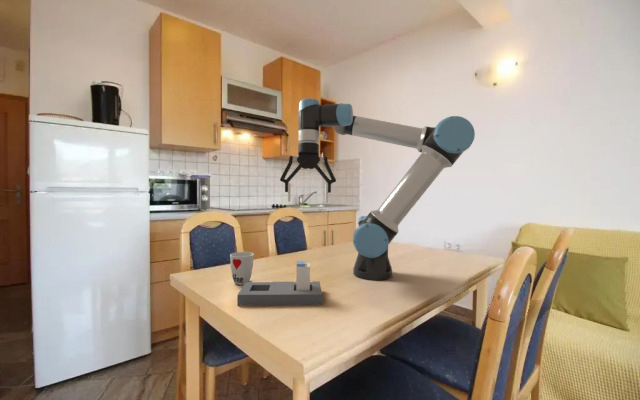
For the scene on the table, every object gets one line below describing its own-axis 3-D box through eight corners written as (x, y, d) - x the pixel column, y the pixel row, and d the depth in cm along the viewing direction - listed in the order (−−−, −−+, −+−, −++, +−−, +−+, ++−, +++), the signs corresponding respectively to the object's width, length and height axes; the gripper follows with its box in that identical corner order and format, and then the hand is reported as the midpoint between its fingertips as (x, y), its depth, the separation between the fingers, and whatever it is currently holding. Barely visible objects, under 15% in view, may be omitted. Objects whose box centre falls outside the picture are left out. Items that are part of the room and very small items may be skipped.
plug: (309, 294, 92) (309, 260, 92) (309, 299, 88) (310, 264, 88) (296, 295, 92) (296, 260, 91) (296, 299, 88) (296, 263, 87)
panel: (319, 290, 96) (319, 280, 96) (322, 304, 84) (322, 293, 84) (245, 290, 95) (245, 281, 95) (237, 305, 83) (237, 294, 83)
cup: (225, 282, 103) (225, 254, 103) (245, 277, 109) (245, 251, 109) (237, 287, 98) (238, 257, 98) (258, 282, 104) (258, 254, 103)
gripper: (341, 145, 111) (340, 201, 112) (275, 144, 109) (274, 200, 110) (344, 142, 104) (343, 202, 104) (273, 140, 102) (272, 201, 103)
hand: (307, 201), depth 107 cm, fingers open, 13 cm apart
